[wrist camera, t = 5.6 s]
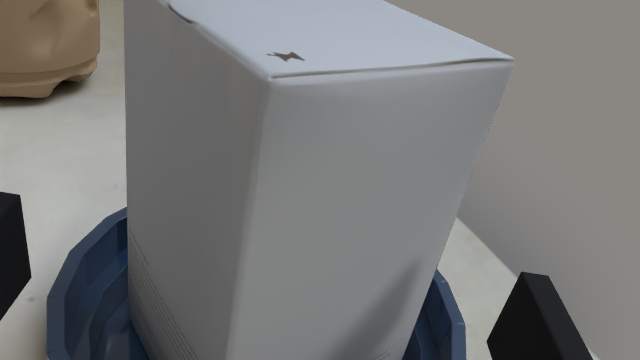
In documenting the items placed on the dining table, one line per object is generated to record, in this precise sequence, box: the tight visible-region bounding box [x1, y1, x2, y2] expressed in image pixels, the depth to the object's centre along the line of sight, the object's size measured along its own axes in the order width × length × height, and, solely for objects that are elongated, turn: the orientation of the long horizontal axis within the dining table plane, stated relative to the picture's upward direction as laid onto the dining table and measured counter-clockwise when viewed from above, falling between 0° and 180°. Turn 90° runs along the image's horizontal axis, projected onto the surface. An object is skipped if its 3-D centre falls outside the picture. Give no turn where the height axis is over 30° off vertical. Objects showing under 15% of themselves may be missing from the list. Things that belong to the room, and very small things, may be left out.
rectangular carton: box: [124, 0, 515, 360], centre depth 19 cm, size 9×9×15 cm
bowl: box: [46, 207, 466, 360], centre depth 22 cm, size 16×16×4 cm
